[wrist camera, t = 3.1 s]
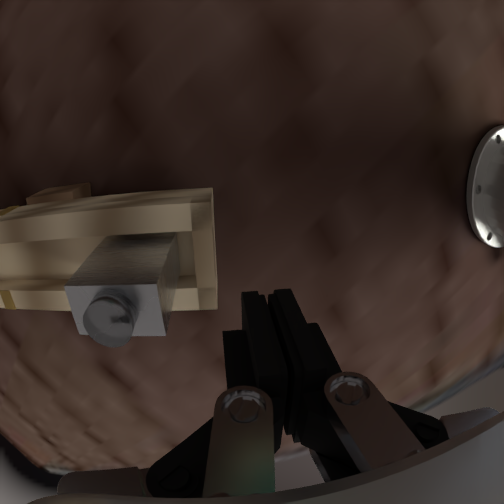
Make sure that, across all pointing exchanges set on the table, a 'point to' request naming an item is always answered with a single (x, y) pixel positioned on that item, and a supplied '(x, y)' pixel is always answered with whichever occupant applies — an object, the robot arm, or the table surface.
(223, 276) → the table surface
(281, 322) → the robot arm
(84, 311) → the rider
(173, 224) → the beam
